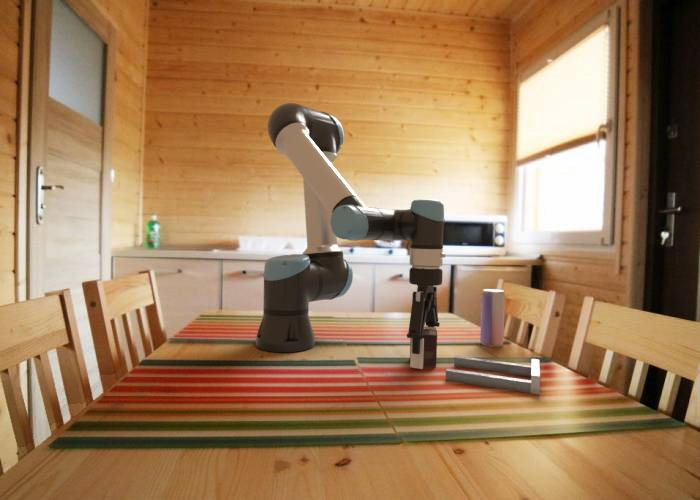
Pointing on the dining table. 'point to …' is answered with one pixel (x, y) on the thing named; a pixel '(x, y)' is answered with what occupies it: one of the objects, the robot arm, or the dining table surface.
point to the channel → (493, 380)
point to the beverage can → (492, 317)
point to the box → (429, 347)
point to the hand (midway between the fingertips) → (423, 360)
